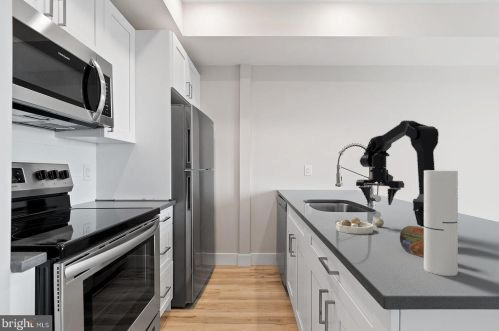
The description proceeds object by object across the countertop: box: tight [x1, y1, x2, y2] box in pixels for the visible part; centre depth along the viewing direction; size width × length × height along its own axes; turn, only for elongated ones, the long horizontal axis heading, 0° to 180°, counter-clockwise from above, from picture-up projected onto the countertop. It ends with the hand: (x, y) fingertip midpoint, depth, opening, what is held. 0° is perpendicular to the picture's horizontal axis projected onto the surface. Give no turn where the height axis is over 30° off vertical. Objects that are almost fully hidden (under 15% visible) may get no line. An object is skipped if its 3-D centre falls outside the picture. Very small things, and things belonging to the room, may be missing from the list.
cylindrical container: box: [423, 169, 459, 277], centre depth 76 cm, size 7×7×25 cm
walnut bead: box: [342, 219, 351, 227], centre depth 122 cm, size 4×4×4 cm
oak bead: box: [350, 217, 361, 226], centre depth 127 cm, size 4×4×4 cm
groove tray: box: [335, 220, 374, 235], centre depth 123 cm, size 14×14×2 cm
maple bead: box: [374, 217, 385, 228], centre depth 130 cm, size 4×4×4 cm
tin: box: [399, 225, 424, 259], centre depth 88 cm, size 15×3×8 cm, turn 25°
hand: (379, 204), depth 130 cm, fingers open, 9 cm apart
